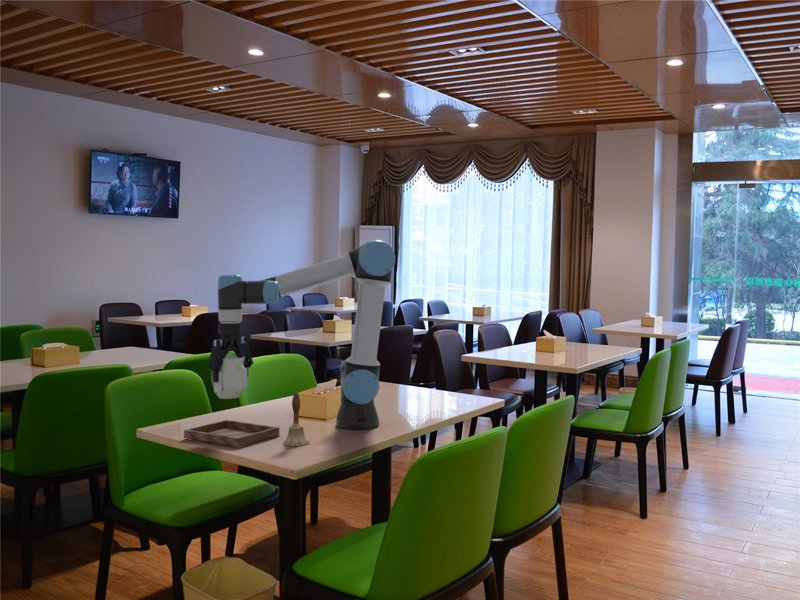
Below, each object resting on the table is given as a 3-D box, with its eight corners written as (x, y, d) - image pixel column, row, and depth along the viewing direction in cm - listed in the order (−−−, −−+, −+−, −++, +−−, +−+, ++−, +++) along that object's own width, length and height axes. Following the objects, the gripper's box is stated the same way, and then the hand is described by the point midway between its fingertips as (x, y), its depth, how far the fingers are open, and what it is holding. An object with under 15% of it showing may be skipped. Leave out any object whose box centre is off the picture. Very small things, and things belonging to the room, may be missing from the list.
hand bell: (284, 440, 237) (283, 391, 237) (310, 440, 238) (309, 390, 237) (282, 446, 229) (281, 395, 228) (309, 446, 230) (308, 395, 229)
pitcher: (231, 403, 230) (230, 359, 230) (200, 396, 243) (200, 354, 242) (260, 398, 238) (260, 356, 238) (229, 392, 251) (229, 352, 250)
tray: (279, 436, 243) (279, 427, 243) (238, 448, 227) (237, 438, 227) (226, 428, 256) (226, 419, 256) (184, 439, 240) (183, 430, 240)
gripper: (247, 319, 252) (247, 383, 253) (194, 324, 232) (195, 393, 233) (263, 320, 248) (264, 385, 249) (211, 325, 228) (212, 395, 229)
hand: (231, 389), depth 241 cm, fingers closed on pitcher, 11 cm apart
